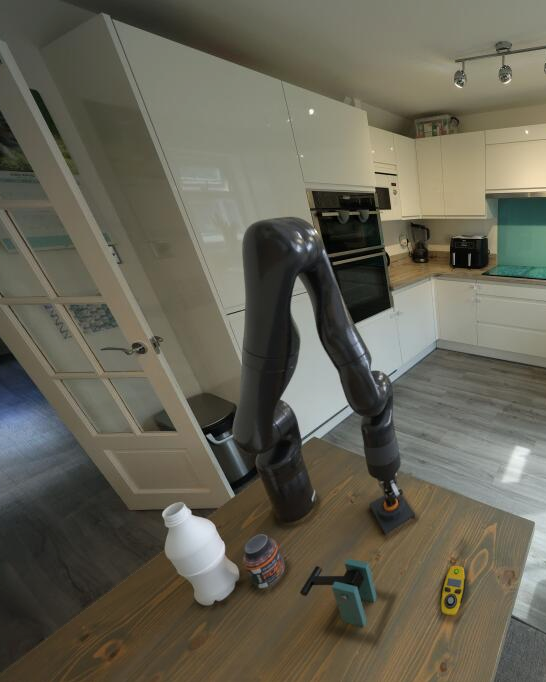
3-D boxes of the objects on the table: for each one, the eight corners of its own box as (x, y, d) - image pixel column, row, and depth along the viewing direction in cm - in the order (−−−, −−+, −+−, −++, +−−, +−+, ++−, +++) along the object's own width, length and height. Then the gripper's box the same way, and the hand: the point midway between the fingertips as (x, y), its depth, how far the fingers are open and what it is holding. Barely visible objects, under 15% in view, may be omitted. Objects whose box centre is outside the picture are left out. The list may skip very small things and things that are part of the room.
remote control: (436, 611, 61) (453, 536, 74) (436, 616, 61) (453, 541, 75) (460, 616, 60) (472, 539, 73) (460, 621, 61) (472, 544, 74)
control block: (370, 509, 82) (368, 499, 81) (398, 493, 87) (396, 483, 85) (386, 538, 75) (384, 528, 74) (415, 519, 80) (414, 508, 78)
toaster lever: (303, 597, 59) (297, 589, 58) (319, 572, 63) (313, 564, 62) (354, 598, 55) (348, 590, 54) (367, 571, 59) (361, 563, 58)
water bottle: (195, 618, 61) (137, 536, 50) (204, 582, 67) (154, 501, 56) (239, 598, 64) (193, 517, 53) (245, 565, 70) (204, 486, 59)
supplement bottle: (271, 595, 65) (255, 562, 60) (247, 588, 66) (229, 555, 61) (292, 565, 70) (279, 532, 65) (270, 559, 71) (255, 526, 66)
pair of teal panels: (328, 628, 60) (313, 590, 54) (348, 587, 66) (337, 550, 60) (376, 641, 58) (366, 603, 53) (392, 598, 64) (385, 560, 59)
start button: (381, 507, 80) (381, 502, 80) (394, 499, 82) (394, 494, 82) (387, 517, 78) (387, 512, 77) (401, 509, 80) (400, 504, 79)
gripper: (356, 443, 75) (367, 494, 82) (377, 478, 65) (388, 532, 73) (385, 430, 79) (393, 479, 86) (410, 461, 70) (416, 513, 77)
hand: (391, 503), depth 79 cm, fingers closed
